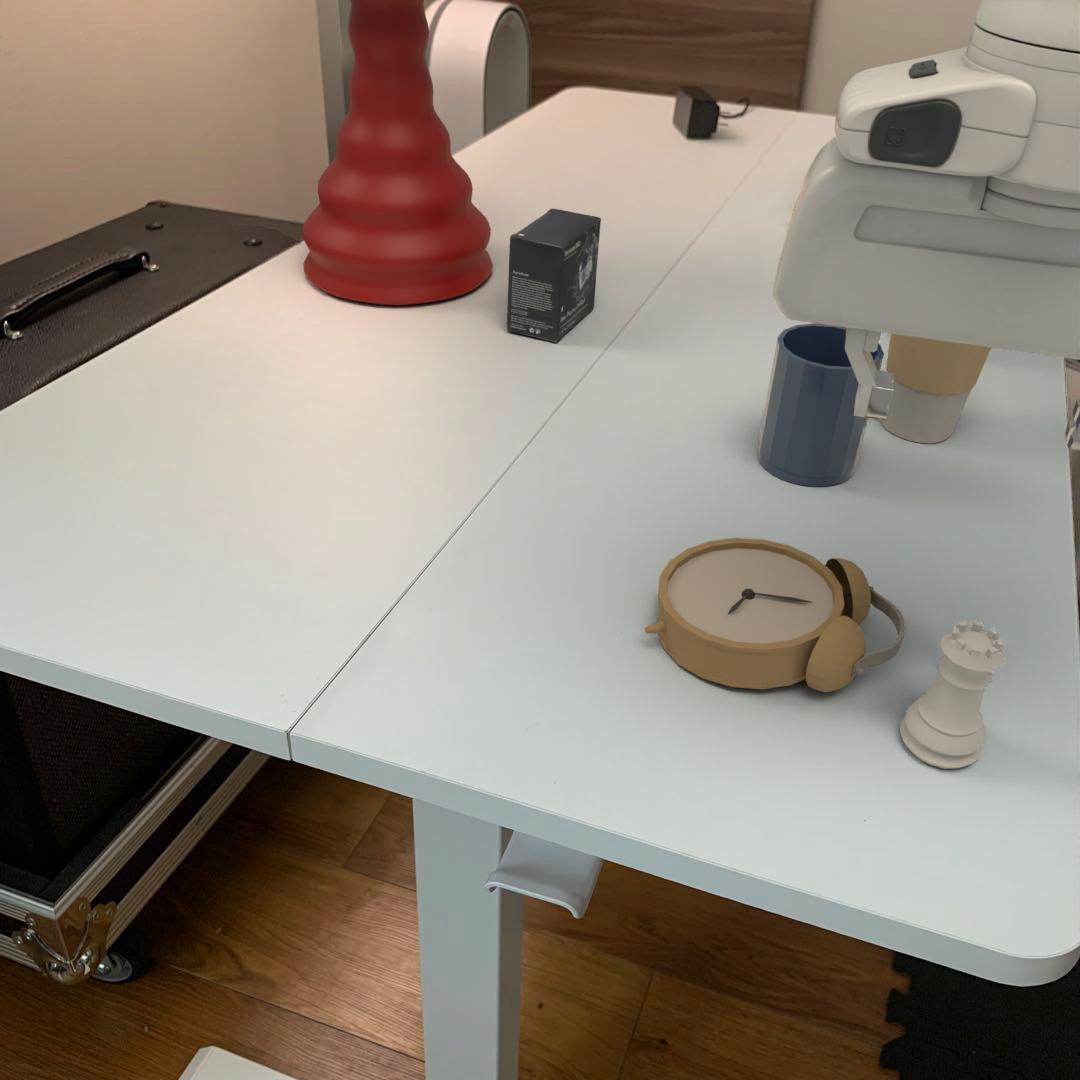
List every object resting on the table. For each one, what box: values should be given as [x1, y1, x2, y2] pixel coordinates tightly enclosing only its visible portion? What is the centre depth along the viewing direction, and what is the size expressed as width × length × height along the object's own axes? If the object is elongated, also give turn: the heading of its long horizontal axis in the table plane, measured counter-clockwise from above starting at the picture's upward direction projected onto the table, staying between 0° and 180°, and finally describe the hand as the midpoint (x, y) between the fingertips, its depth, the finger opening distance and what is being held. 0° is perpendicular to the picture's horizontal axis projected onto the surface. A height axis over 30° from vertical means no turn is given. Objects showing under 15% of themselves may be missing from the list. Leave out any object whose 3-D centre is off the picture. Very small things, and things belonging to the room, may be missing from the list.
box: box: [506, 208, 602, 343], centre depth 102 cm, size 9×6×10 cm, turn 155°
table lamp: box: [302, 0, 494, 306], centre depth 100 cm, size 20×20×45 cm
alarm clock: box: [644, 537, 906, 693], centre depth 66 cm, size 11×5×15 cm
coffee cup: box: [880, 334, 992, 444], centre depth 85 cm, size 9×9×15 cm
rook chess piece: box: [899, 620, 1006, 770], centre depth 58 cm, size 4×4×8 cm
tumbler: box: [757, 323, 885, 488], centre depth 82 cm, size 8×8×10 cm
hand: (974, 429), depth 49 cm, fingers open, 8 cm apart
